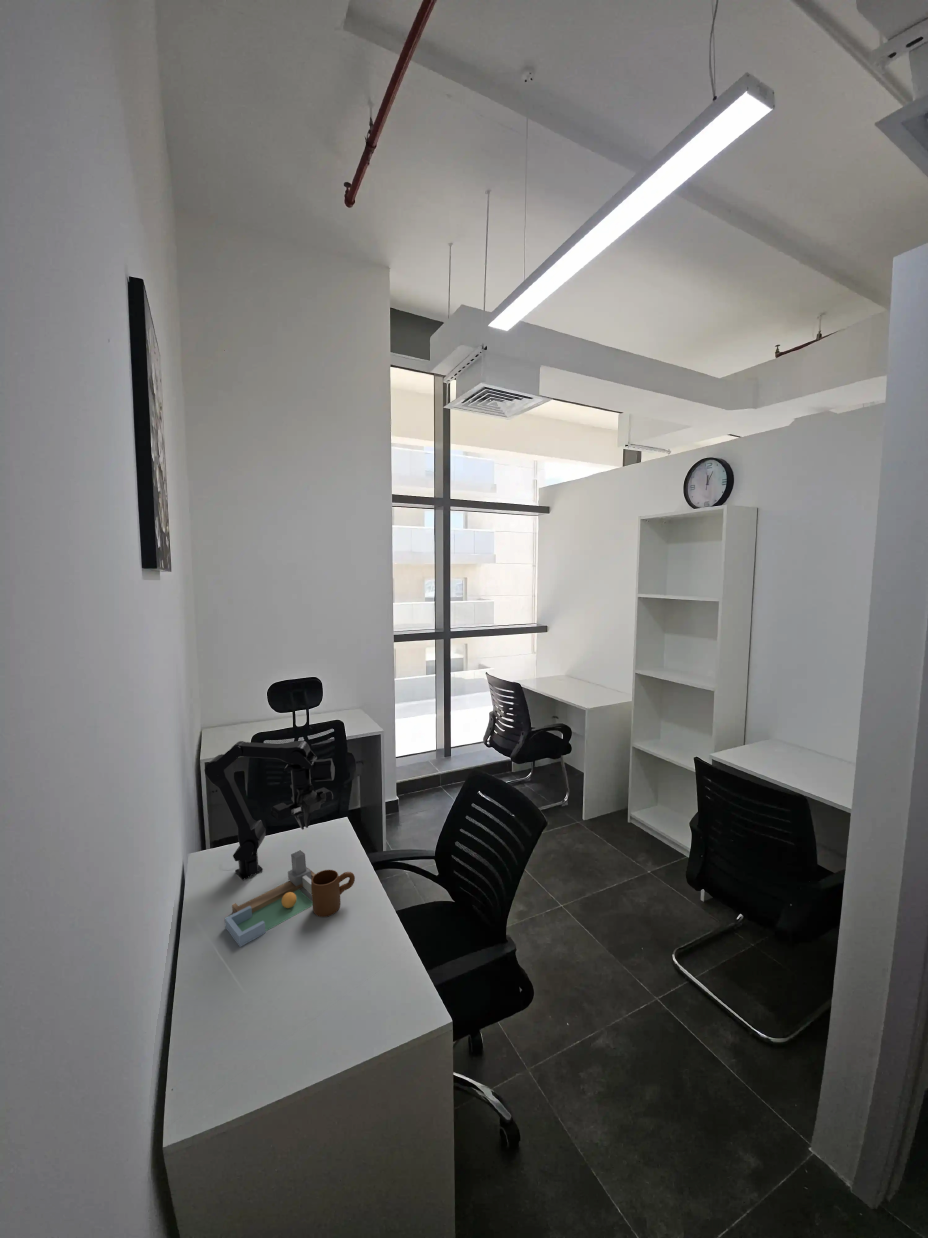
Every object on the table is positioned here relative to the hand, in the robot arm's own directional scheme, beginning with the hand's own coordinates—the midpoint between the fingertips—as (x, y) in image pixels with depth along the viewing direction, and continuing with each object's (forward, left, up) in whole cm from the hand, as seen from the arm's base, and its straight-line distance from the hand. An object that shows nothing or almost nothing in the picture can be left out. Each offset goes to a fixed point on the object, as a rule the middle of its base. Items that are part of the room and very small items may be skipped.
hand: (304, 828), depth 156 cm
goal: (+15, -25, -13) cm, 32 cm away
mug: (+24, -4, -13) cm, 28 cm away
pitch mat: (+14, -18, -13) cm, 26 cm away
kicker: (+11, -6, -12) cm, 17 cm away
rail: (+7, -13, -13) cm, 20 cm away
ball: (+15, -13, -13) cm, 23 cm away
